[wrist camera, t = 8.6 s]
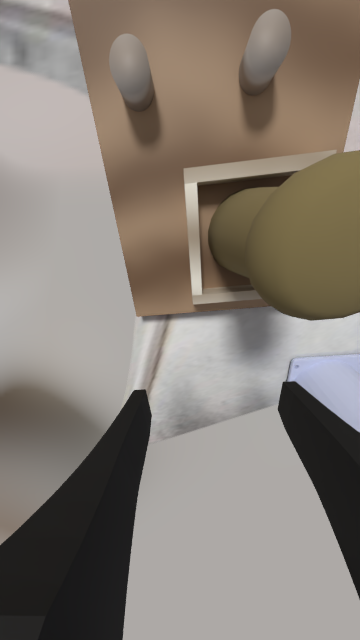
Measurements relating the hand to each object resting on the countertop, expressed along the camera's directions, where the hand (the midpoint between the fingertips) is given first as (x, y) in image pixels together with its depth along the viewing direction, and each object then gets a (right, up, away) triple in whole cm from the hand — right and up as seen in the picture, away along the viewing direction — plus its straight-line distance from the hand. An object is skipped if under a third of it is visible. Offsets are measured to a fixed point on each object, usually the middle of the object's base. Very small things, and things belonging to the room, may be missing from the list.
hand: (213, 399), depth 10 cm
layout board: (+1, +15, +4) cm, 15 cm away
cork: (+3, +11, +5) cm, 13 cm away
